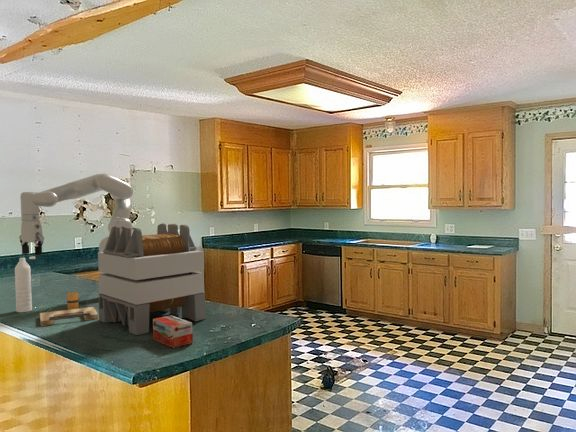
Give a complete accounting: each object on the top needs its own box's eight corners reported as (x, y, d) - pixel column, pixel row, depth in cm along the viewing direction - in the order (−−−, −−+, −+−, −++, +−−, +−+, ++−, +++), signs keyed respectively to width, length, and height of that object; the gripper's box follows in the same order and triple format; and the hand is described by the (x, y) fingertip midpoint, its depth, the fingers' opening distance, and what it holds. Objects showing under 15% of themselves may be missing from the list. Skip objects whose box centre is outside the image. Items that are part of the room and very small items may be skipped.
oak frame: (93, 311, 220) (93, 304, 220) (98, 318, 206) (98, 311, 206) (39, 317, 210) (39, 310, 210) (40, 326, 196) (40, 318, 195)
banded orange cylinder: (78, 308, 226) (78, 291, 226) (79, 310, 222) (79, 293, 221) (67, 309, 224) (66, 292, 223) (67, 312, 219) (67, 294, 219)
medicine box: (193, 344, 170) (193, 322, 169) (173, 349, 164) (172, 326, 164) (171, 335, 181) (171, 314, 180) (152, 340, 175) (151, 318, 175)
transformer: (207, 319, 203) (205, 224, 201) (136, 336, 180) (133, 228, 178) (165, 306, 227) (163, 221, 225) (97, 320, 204) (94, 225, 202)
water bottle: (18, 313, 218) (15, 259, 217) (14, 310, 223) (12, 257, 222) (39, 310, 223) (37, 257, 222) (35, 307, 228) (33, 255, 227)
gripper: (49, 217, 224) (51, 254, 225) (26, 217, 232) (28, 252, 233) (34, 218, 217) (36, 256, 218) (11, 218, 225) (13, 254, 226)
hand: (32, 254), depth 225 cm, fingers open, 9 cm apart
